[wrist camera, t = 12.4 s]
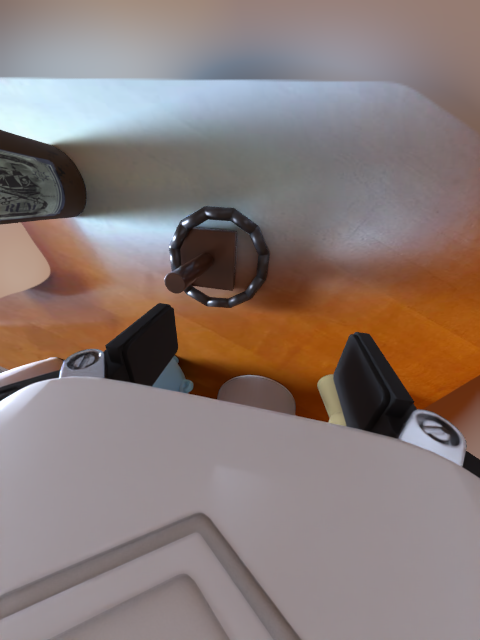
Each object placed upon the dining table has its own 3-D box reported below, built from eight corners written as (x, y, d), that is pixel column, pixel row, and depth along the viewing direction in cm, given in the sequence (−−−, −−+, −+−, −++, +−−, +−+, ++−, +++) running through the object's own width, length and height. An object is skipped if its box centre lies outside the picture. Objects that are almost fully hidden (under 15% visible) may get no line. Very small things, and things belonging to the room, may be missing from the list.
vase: (74, 392, 60) (-41, 497, 38) (29, 361, 56) (-128, 457, 35) (94, 372, 53) (-32, 484, 32) (43, 335, 50) (-138, 434, 28)
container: (262, 437, 54) (257, 509, 41) (203, 402, 51) (178, 468, 39) (314, 405, 45) (327, 484, 32) (245, 360, 42) (230, 427, 29)
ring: (166, 203, 29) (162, 203, 27) (274, 210, 28) (275, 211, 27) (177, 301, 36) (174, 305, 35) (262, 307, 36) (262, 312, 35)
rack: (180, 226, 31) (128, 236, 21) (237, 231, 30) (213, 244, 20) (184, 281, 36) (144, 313, 25) (234, 287, 35) (213, 323, 24)
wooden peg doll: (325, 370, 40) (339, 421, 31) (354, 379, 40) (378, 433, 30) (312, 390, 43) (321, 442, 34) (339, 399, 43) (356, 453, 34)
